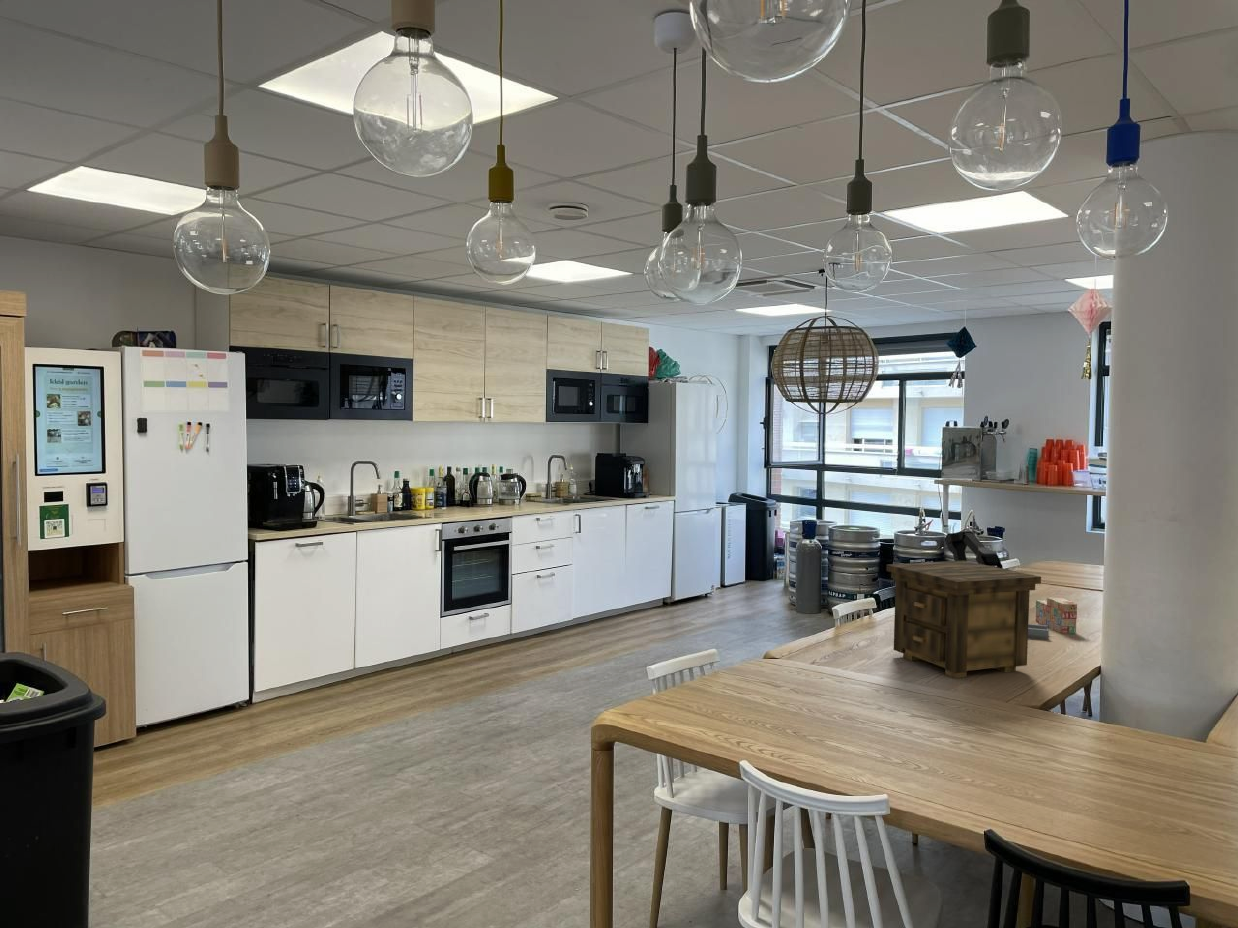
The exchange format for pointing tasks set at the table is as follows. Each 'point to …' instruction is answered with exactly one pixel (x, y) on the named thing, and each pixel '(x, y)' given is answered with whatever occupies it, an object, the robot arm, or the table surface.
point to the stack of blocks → (1057, 614)
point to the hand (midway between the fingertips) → (985, 621)
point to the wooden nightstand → (962, 615)
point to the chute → (1038, 631)
